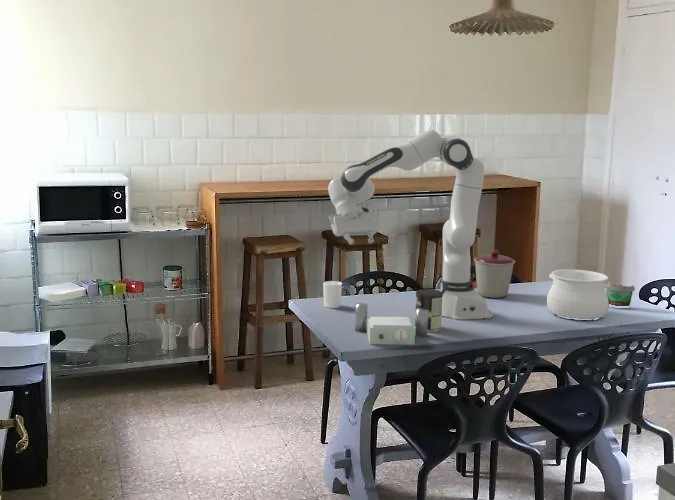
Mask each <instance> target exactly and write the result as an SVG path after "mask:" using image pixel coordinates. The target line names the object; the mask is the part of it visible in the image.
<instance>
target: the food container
mask: <svg viewBox="0 0 675 500" xmlns="http://www.w3.org/2000/svg"><path fill="white" fill-rule="evenodd" d="M635 289H636V288H635V285H632V286H626V285H621V284H610V286H609V287H605V291H606V294H607V297H608V302H609V304H611V305H615V306H629V305H630V306H631V303H632V297H633V294H634V291H635Z"/></svg>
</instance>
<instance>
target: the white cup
mask: <svg viewBox="0 0 675 500" xmlns="http://www.w3.org/2000/svg"><path fill="white" fill-rule="evenodd" d="M322 287H323V289H322V290H323V291H322V292H323V306H324V307H325V308H329V309H337V308H340V307H341V302H342V301H341V300H342V289H343V283H342V281H336V280H329V281H324V282H323V284H322Z"/></svg>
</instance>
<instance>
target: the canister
mask: <svg viewBox="0 0 675 500" xmlns="http://www.w3.org/2000/svg"><path fill="white" fill-rule="evenodd" d="M473 260H474V262H475V279H476V282H475V283H476V284H477V286H478V287H477V288H476V292H477V293H479V294H480V295H481V296H482V297H483V298H488V297H490V298H489V299H501V297H502V298H505V297H507V295H508V293H509V289H510V286H511V285H510V284H511V280H512V274H513V269H514V264H515V263H516V261H515V259H513V258H512V257H510V256H506V255H502V254H500V252H499V250H498V249H492V250H491V251H490V254H481V255H480V254H479V255H478V256H477V257H474V258H473Z"/></svg>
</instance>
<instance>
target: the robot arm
mask: <svg viewBox="0 0 675 500" xmlns="http://www.w3.org/2000/svg"><path fill="white" fill-rule="evenodd" d="M435 158H439V159H440V161H442V162H444V164H446V165H448V166H451V167H454V168H455V170H456V176H455V179H454V181H455V182H454V184H453V190H452V194H451V200H450V211H449V212H450V213H449V219H447V221H445V223H444V224H443V227H442V255H443V257H442V258H443V259H442V260H443V261H442V265H443V266H442V279H441V280H440V281H441V283H440V291H441V292H443V299H442V317H446V318H450V319H454V320H459V321H460V320H461V321H462V320H480V319H481V320H482V319H483V318H485V319H492V318H493V316H494V313H493V312H492V311H491V310H490V309H488V303H487V300H486V299H485V297H484V296H481V295H480V294H479V293H478V291H477V287H478V286H477V282H474V281H472V280H471V266H472V263H471V262H472V260H471V250H470V248H471V247H472V246H473V245H474V243H475V240H476V231H477V225H478V224H477V223H478V212H479V207H480V206H479V205H480V201H481V195H482V192H483V191H482V190H483V186H484V178H485V165H484V163H483V162H482V161H481V160H480V159H478V158H475V157H474V156H473V154H472V150H471V147H470V145H469V144H468V143H467V141H466V140H464V139H462V138H460V137H442V136H441V134H439V133H438V132H437V131H436V130H434V129H428V130H426V131H423V132H421V133H419V134H417V135H415V136H413V137H411V138H410V139H408V140H407V141H405V142H403V143H402V144H400V145H398V146H396V147H391V148H388V149H385V150H384V151H382V152H380V153H378V154H376V155H374V156H372V157H370V158H368V159H366V160H365V161H363V162H360V163H357V164H352V165H349V166H347V167H346V168H345V169H344V171H343V172H342V173H341V176H338V177H335V178H333V179H332V180H331V181H330V182H329V184H328V187H327V192H328V196H329V198H330V201H331V204H332V205H333V206H334V208H335V212H336V214H331V215H329V216H328V221H329V222H330V227H331V230H332V233H333V235H335V237H343V239H345V241H347V242H348V244H349V245H354V244H355V240H354V238H352V237H351V236H367V237H368V239H367V242H368V244H373V243H374V241H375V240H374V235H376V234H377V232H378V231H379V224H378V222H377V220H376V218H375V217H374V215H373V214H371V213H372V210H371V208H368V207H365V206H363V205H359V204H362V203H364V202H366V201H368V200H370V199H371V198H373V196H374V194H375V191H376V188H375V187H376V186H375V184H374V183H373V181H372V180H371V177H372V176H374V175H376V174H378V173H379V172H382V171H383V170H385V169H387V168H397V169H401V170H403V171H413V170H416V169H417V168H420V167H421V166H423V165H424V164H426V163H427V162H429V160H432V159H435ZM491 317H492V318H491Z"/></svg>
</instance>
